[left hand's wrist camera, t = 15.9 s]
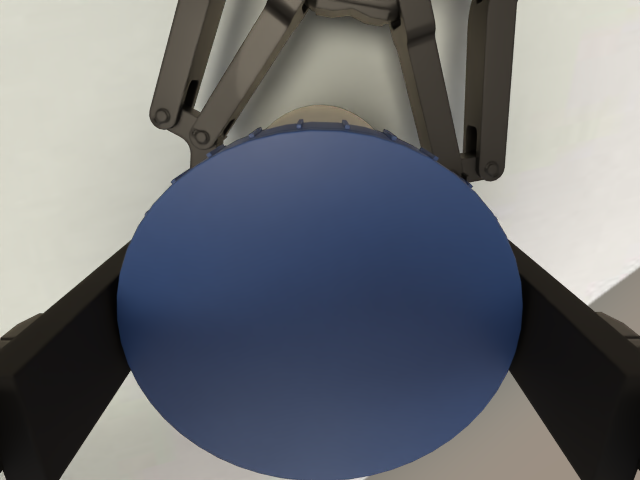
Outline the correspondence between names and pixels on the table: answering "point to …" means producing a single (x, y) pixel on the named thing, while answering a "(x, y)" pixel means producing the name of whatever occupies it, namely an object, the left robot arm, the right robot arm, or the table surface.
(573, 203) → the table surface
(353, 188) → the lid
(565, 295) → the left robot arm
